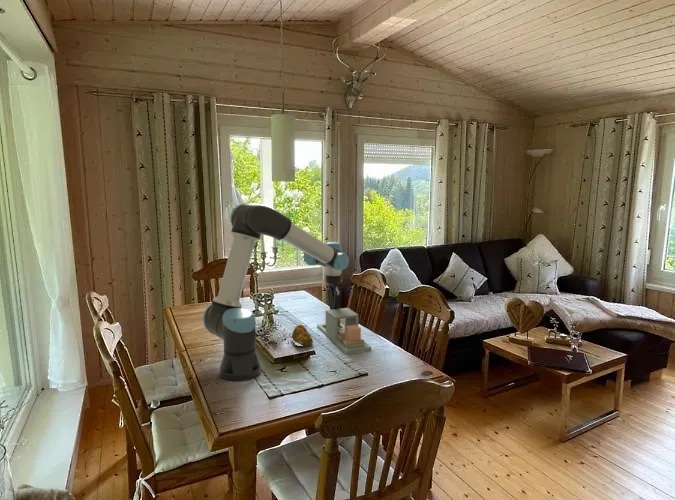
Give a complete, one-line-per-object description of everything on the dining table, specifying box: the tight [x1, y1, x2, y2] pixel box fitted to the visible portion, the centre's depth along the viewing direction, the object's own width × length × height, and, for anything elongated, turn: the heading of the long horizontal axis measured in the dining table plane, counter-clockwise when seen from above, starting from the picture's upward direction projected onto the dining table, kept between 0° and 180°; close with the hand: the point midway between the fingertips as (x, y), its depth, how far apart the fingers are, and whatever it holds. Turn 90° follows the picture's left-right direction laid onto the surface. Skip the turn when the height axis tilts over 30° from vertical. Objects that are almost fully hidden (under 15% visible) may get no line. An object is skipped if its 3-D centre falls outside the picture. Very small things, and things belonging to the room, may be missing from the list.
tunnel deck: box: [316, 307, 372, 355], centre depth 196 cm, size 36×12×12 cm, turn 22°
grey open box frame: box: [338, 319, 365, 347], centre depth 194 cm, size 26×8×5 cm, turn 22°
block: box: [344, 324, 362, 341], centre depth 186 cm, size 6×5×6 cm
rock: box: [291, 324, 314, 347], centre depth 189 cm, size 11×8×10 cm
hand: (333, 321), depth 207 cm, fingers closed
